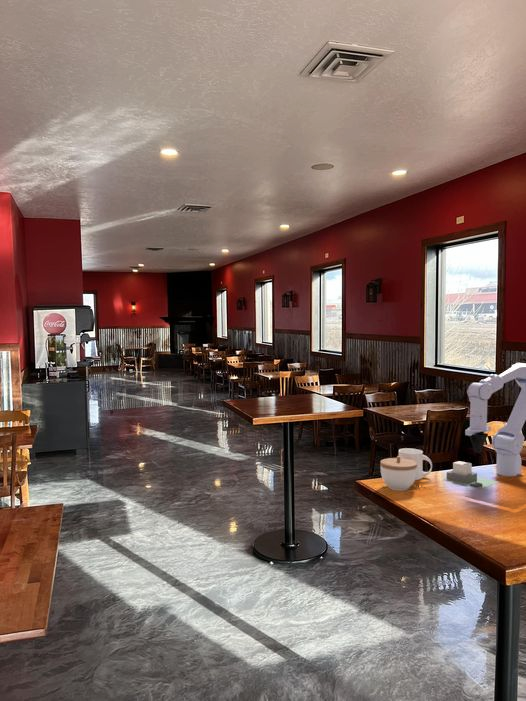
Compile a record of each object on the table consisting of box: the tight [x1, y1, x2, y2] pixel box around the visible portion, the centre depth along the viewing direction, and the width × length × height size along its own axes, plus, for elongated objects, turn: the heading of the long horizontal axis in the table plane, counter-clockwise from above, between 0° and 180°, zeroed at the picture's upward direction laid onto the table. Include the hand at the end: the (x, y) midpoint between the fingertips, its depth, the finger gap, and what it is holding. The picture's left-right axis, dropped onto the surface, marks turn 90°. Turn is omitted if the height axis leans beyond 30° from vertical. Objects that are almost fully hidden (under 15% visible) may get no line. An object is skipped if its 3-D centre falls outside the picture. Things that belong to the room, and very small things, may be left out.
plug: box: [452, 460, 473, 476], centre depth 203 cm, size 8×5×6 cm, turn 130°
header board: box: [442, 469, 500, 490], centre depth 201 cm, size 13×15×4 cm
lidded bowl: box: [379, 455, 417, 492], centre depth 195 cm, size 13×13×11 cm
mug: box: [398, 447, 433, 481], centre depth 205 cm, size 9×12×11 cm
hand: (477, 452), depth 203 cm, fingers closed
